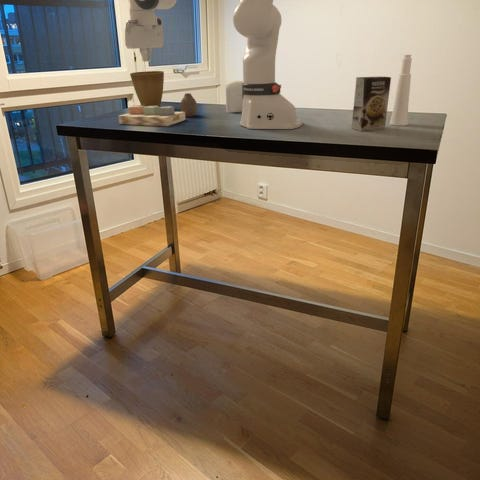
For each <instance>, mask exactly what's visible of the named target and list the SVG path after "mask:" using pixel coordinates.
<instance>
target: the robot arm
mask: <svg viewBox="0 0 480 480" xmlns="http://www.w3.org/2000/svg"><path fill="white" fill-rule="evenodd" d="M128 1H129V16H130V19H128V20H127V21H126V23H125V28H124V42H125V47H126V48H127V49H129V50H130V49H132V50H133V49H138V50H139V53H140V55H141V60H142V62H151V59H152V58H151V56H152V53H153V49H154V48H163V46H164V32H163V31H164V30H163V28H162V26H163V24H164V23H163V19H161V18H160V17H158V16H157V15H156V14H155V10H169V9H173V8H174V7H175V6H176V4H177V2H178V0H128ZM273 3H274V0H239V1H238V5H237V6H236V8H235V10H234V12H233V14H232V15H233V17H232V22H233V26H234V29H235V30H236V31H237V32H238V34H240V35H242V37H244V38H246V46H245V51H244V55H243V57H242V76H243V77H242V81H243V83H242V98H243V109H242V112H241V117H240V122H239V125H240V126H242V127H244V128H247V129H250V130H252V129H254V130H292V129H297V128H299V127H302V126H303V124H304V123H303V120H302V119H299V118H297V117H298V116H297V110H296V107H295V105H294V104H293V103H292V102H290V101H289V100H288V99H287V98H286V97H284V96H283V95H282V94H281V89H282V84H279V83H278V82H276V57H277V49H278V43H279V35H280V29H281V27H282V26H281V25H282V20H283V19H282V15H281V13H280V11H279V9H278V8H277V7H276V5H274V4H273Z"/></svg>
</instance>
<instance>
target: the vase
mask: <svg viewBox="0 0 480 480" xmlns="http://www.w3.org/2000/svg"><path fill="white" fill-rule="evenodd" d="M180 112H185V118H186V117H189V118H190V117H194V116H196V114H197V112H198V104H197V100H196V99H195V98H194V97H193V95H192V93H187V92H186V93H184V96H183V97H182V99H181V100H180Z"/></svg>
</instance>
